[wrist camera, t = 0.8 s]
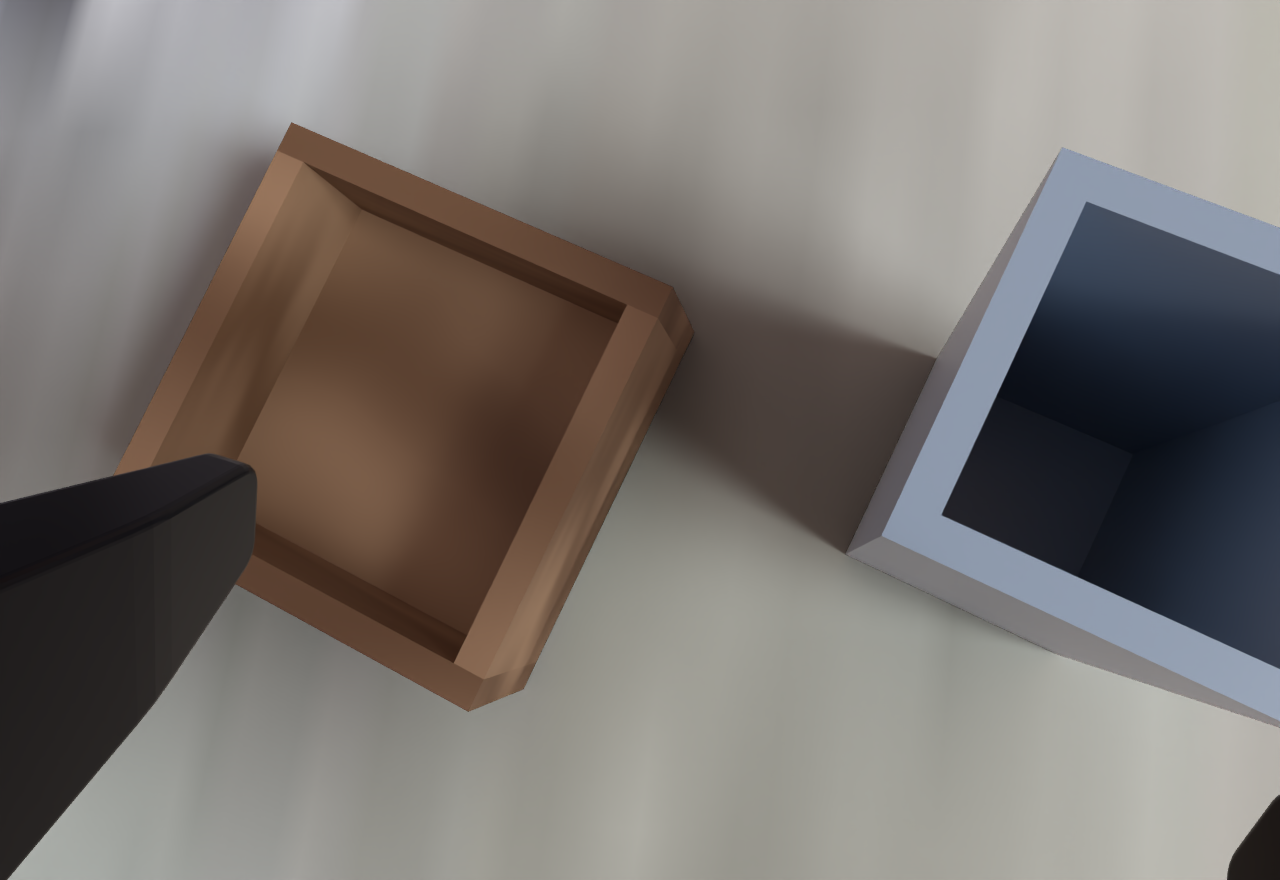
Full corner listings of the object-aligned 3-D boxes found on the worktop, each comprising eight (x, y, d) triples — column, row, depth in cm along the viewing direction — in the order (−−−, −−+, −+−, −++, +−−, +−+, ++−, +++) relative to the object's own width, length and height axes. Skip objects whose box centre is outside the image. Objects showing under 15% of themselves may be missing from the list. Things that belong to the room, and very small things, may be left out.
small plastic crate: (1057, 654, 22) (1328, 743, 11) (845, 554, 23) (881, 535, 12) (1151, 448, 23) (1515, 315, 11) (936, 357, 24) (1062, 147, 12)
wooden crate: (523, 689, 24) (468, 711, 20) (203, 517, 26) (97, 507, 22) (694, 332, 25) (672, 287, 21) (367, 188, 27) (291, 122, 23)
